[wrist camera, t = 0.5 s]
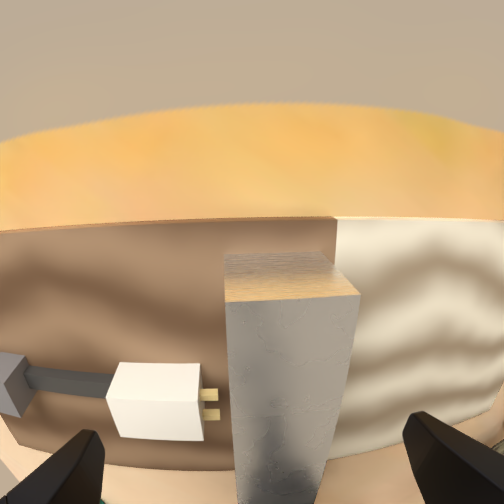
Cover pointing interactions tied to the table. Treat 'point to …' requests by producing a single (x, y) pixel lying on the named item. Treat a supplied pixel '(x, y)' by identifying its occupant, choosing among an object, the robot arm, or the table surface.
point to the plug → (120, 395)
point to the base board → (214, 321)
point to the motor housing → (285, 369)
